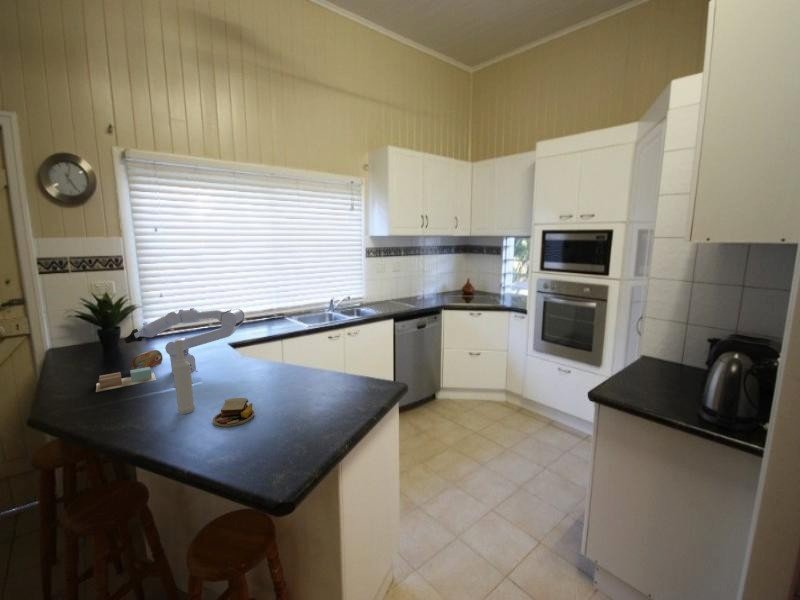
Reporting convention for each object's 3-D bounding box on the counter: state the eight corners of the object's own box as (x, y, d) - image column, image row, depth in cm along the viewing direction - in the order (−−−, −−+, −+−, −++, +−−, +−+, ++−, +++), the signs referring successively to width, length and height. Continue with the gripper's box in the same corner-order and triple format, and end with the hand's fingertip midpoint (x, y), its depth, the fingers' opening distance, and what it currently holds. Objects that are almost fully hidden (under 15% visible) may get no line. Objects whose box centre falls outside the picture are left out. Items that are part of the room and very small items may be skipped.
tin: (136, 375, 168) (134, 357, 167) (130, 375, 169) (128, 356, 167) (164, 364, 183) (162, 348, 181) (158, 364, 183) (156, 347, 182)
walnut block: (122, 384, 154) (120, 376, 153) (100, 388, 150) (99, 380, 149) (121, 380, 159) (120, 372, 159) (100, 384, 155) (99, 375, 155)
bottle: (191, 406, 133) (183, 337, 129) (197, 410, 130) (190, 339, 126) (175, 411, 129) (167, 340, 125) (181, 415, 126) (173, 343, 122)
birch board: (154, 374, 168) (153, 372, 168) (156, 382, 159) (156, 379, 158) (96, 385, 156) (96, 383, 156) (96, 394, 147) (95, 391, 146)
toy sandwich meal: (205, 429, 117) (203, 414, 116) (225, 410, 130) (223, 397, 129) (245, 428, 117) (244, 413, 116) (261, 409, 130) (260, 396, 129)
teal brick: (151, 378, 160) (150, 369, 160) (131, 382, 156) (130, 373, 155) (150, 375, 164) (149, 366, 163) (131, 379, 160) (130, 370, 159)
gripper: (164, 315, 173) (138, 327, 174) (142, 321, 159) (115, 334, 160) (171, 328, 174) (146, 341, 175) (151, 336, 160) (123, 349, 160)
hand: (132, 339), depth 167 cm, fingers open, 7 cm apart
